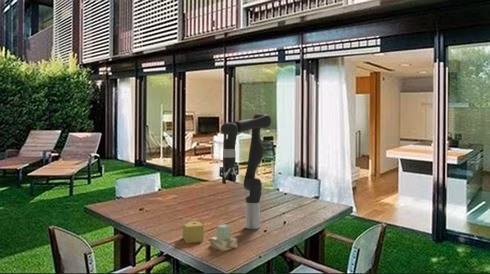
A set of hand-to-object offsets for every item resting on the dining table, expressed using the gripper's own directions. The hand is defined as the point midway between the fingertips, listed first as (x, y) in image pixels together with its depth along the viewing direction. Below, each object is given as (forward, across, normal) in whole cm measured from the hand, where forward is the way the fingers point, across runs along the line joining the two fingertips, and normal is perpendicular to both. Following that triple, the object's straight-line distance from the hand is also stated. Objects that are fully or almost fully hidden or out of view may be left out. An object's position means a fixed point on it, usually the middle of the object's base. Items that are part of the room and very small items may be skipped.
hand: (229, 182), depth 234 cm
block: (+28, +14, +10) cm, 33 cm away
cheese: (+33, +19, -11) cm, 40 cm away
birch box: (+34, +14, +10) cm, 38 cm away
